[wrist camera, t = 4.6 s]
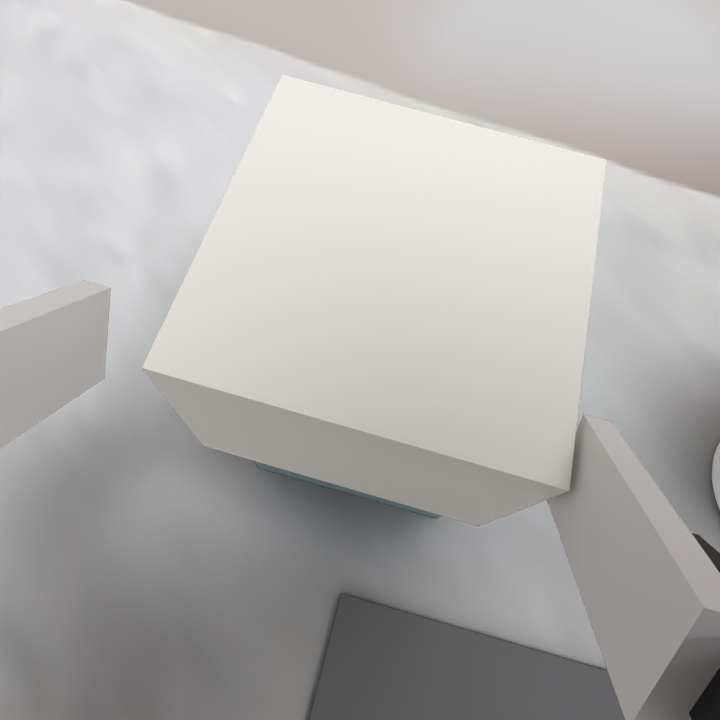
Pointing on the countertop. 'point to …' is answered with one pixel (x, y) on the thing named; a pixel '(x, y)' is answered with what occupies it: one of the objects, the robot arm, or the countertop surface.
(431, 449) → the lid
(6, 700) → the countertop surface
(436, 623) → the mat
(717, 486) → the jar
